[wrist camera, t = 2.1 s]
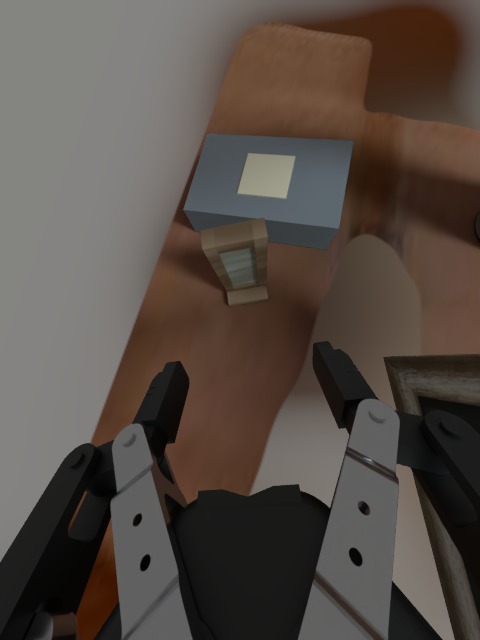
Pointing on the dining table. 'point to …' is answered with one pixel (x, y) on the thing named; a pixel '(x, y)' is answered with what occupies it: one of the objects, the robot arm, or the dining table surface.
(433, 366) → the picture frame
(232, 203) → the display step
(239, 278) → the walnut frame
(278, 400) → the dining table surface
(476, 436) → the robot arm
